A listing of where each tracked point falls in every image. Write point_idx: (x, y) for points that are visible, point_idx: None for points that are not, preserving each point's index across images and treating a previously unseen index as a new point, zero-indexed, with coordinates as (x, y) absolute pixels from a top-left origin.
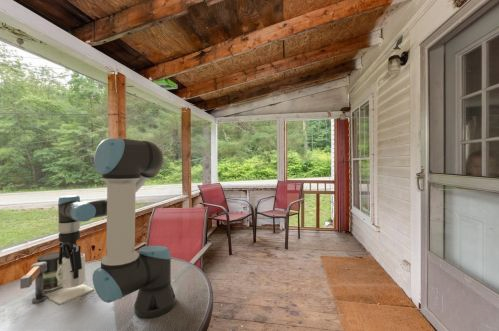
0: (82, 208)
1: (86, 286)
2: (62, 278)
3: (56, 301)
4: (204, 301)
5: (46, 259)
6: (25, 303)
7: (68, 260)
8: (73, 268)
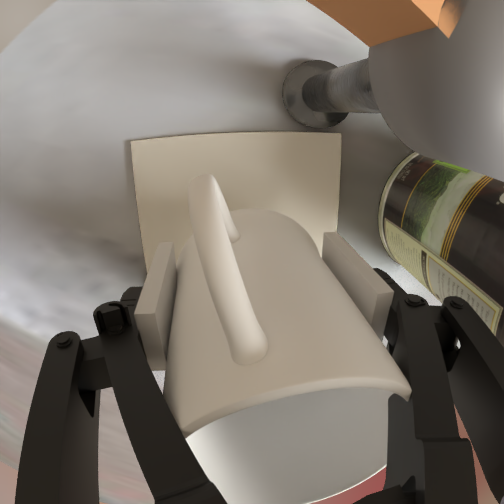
0: None
1: None
2: (333, 245)
3: (176, 138)
4: None
5: None
6: (345, 44)
7: (194, 411)
8: (103, 349)
